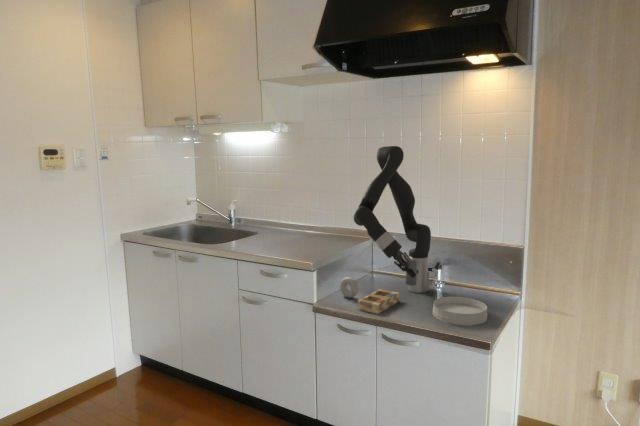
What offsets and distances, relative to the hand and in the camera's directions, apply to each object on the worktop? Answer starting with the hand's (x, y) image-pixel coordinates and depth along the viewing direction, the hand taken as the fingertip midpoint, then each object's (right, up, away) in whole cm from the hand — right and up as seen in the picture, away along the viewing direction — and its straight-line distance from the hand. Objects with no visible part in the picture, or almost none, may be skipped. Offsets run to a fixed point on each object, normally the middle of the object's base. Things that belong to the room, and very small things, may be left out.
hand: (415, 274), depth 196 cm
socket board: (-14, -15, +14) cm, 25 cm away
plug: (-2, -4, +1) cm, 4 cm away
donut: (-26, -14, +24) cm, 39 cm away
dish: (+19, -18, 0) cm, 26 cm away
